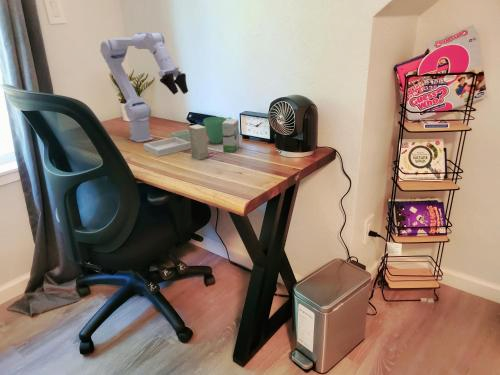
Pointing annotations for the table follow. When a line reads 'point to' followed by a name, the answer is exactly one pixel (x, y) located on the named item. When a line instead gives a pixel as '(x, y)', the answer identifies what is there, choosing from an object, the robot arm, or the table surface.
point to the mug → (214, 128)
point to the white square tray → (167, 146)
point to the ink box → (230, 135)
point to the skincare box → (198, 141)
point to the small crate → (181, 135)
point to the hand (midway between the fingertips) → (181, 92)
